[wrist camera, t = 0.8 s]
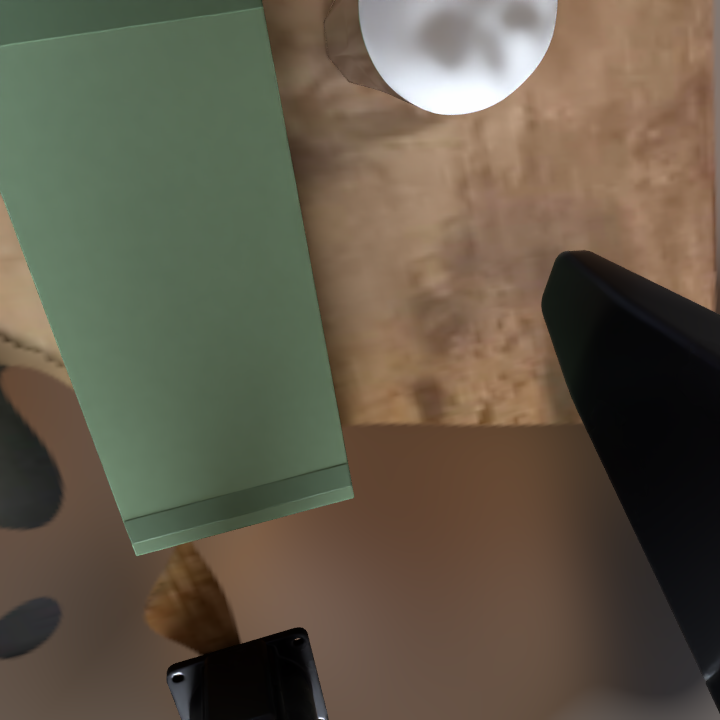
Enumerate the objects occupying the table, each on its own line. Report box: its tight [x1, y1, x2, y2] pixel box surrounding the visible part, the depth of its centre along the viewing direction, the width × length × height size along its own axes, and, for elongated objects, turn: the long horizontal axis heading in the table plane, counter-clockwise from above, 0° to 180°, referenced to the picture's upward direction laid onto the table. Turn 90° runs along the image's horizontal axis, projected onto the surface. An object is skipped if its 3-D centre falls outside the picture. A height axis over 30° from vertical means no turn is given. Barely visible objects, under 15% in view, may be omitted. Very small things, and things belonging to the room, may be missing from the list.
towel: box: [0, 0, 354, 556], centre depth 23 cm, size 20×9×1 cm, turn 9°
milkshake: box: [324, 0, 558, 115], centre depth 17 cm, size 4×5×10 cm
